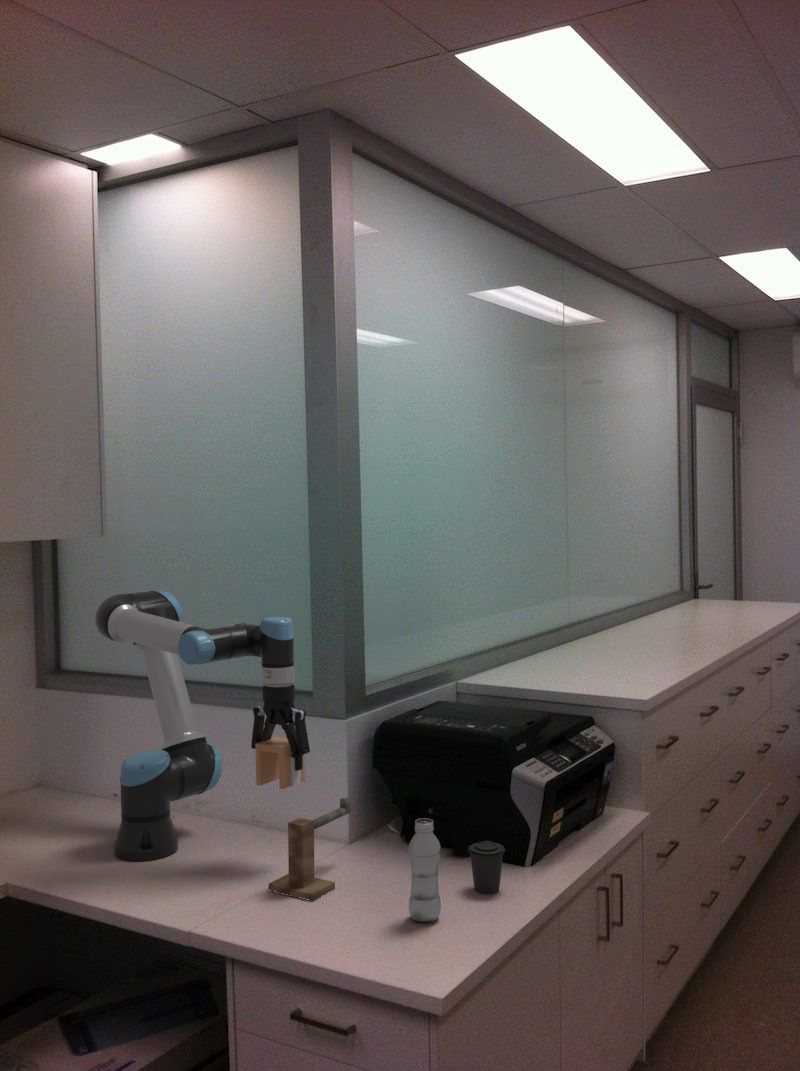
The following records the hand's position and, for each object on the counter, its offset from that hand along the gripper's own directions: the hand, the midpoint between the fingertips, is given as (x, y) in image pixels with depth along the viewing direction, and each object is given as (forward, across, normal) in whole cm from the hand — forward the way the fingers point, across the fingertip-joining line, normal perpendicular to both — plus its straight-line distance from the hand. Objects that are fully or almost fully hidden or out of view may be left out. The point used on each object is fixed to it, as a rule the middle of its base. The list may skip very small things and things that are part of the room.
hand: (281, 781), depth 231 cm
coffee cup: (+21, +47, +11) cm, 53 cm away
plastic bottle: (+21, +44, -9) cm, 49 cm away
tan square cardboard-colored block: (0, 0, 0) cm, 0 cm away
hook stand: (+20, +12, -1) cm, 24 cm away
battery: (+21, +32, +30) cm, 49 cm away
